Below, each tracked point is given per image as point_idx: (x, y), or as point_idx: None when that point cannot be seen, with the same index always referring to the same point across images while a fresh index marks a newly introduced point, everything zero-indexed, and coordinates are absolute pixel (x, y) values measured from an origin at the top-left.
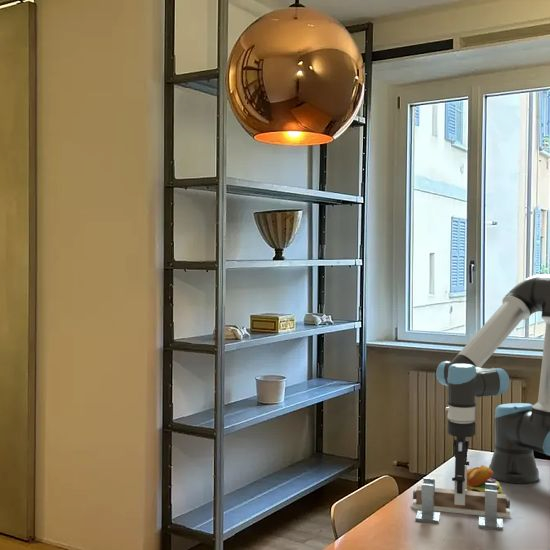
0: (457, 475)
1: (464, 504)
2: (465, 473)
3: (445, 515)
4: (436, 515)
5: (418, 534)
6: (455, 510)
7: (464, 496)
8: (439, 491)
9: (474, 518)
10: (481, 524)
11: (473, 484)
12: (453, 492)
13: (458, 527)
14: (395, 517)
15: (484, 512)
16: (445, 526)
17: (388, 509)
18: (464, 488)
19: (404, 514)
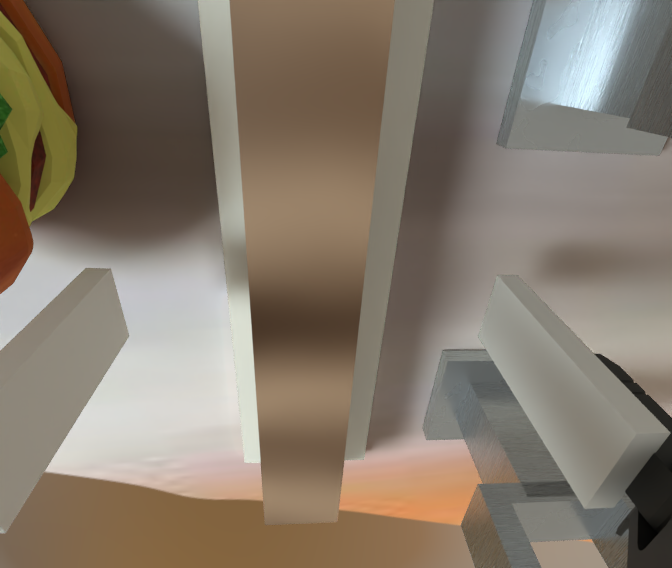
0: (643, 551)
1: (521, 281)
2: (23, 381)
3: (435, 328)
4: (490, 373)
5: (664, 404)
6: (388, 292)
7: (554, 318)
8: (330, 438)
9: (472, 174)
10: (655, 135)
11: (16, 226)
12: (327, 368)
13: (613, 264)
14: (476, 480)
15: (395, 100)
16: (591, 321)
17: (392, 505)
18: (604, 370)
19: (440, 462)
